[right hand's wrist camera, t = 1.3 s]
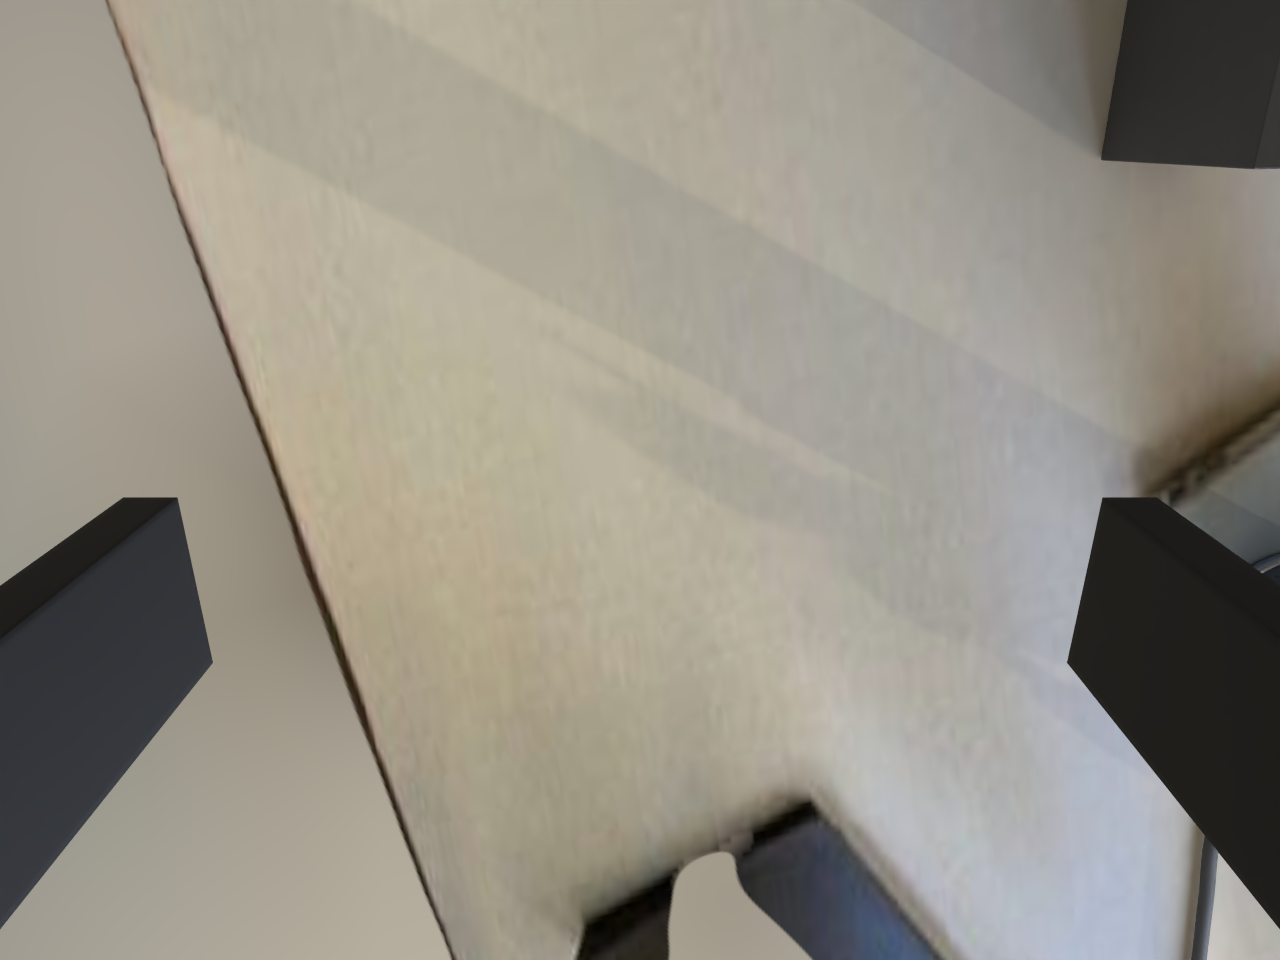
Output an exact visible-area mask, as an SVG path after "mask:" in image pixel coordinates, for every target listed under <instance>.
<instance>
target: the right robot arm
mask: <svg viewBox="0 0 1280 960" xmlns="http://www.w3.org/2000/svg"><path fill="white" fill-rule="evenodd" d="M212 663H213V661H212V657H211V652H210V647H209V643H208V638H207V633H206V629H205V624H204V619H203V615H202V610H201V605H200V601H199V596H198V591H197V587H196V582H195V577H194V573H193V568H192V564H191V559H190V554H189V549H188V545H187V540H186V536H185V531H184V526H183V521H182V517H181V512H180V508H179V503H178V498H122V499H121V500H119V501H118V502H116V503H115V504H114V505H112V506H111V507H110V508H108V509H107V510H105V511H104V512H103V513H101V514H100V515H98V516H97V517H96V518H94V519H93V520H91V521H90V522H89V523H87V524H86V525H84V526H83V527H82V528H80V529H79V530H77V531H76V532H75V533H73V534H72V535H70V536H69V537H68V538H66V539H65V540H64V541H62V542H61V543H59V544H58V545H57V546H55V547H54V548H52V549H51V550H50V551H48V552H47V553H45V554H44V555H43V556H41V557H40V558H38V559H37V560H36V561H34V562H33V563H31V564H30V565H29V566H27V567H26V568H24V569H23V570H22V571H20V572H19V573H17V574H16V575H15V576H13V577H12V578H10V579H9V580H8V581H6V582H5V583H4V584H2V585H1V586H0V929H1V927H2V926H3V925H4V924H5V922H6V921H7V920H8V919H9V917H10V916H11V915H12V914H13V912H14V911H15V910H16V909H17V907H18V906H19V905H20V904H21V902H22V901H23V900H24V899H25V897H26V896H27V895H28V894H29V892H30V891H31V890H32V889H33V887H34V886H35V885H36V884H37V882H38V881H39V880H40V879H41V877H42V876H43V875H44V874H45V872H46V871H47V870H48V868H49V867H50V866H51V865H52V864H53V862H54V861H55V860H56V859H57V857H58V856H59V855H60V853H61V852H62V851H63V850H64V849H65V847H66V846H67V845H68V843H69V842H70V841H71V840H72V838H73V837H74V836H75V835H76V834H77V832H78V831H79V830H80V828H81V827H82V826H83V825H84V823H85V822H86V821H87V820H88V818H89V817H90V816H91V815H92V813H93V812H94V811H95V810H96V808H97V807H98V806H99V805H100V803H101V802H102V801H103V800H104V798H105V797H106V796H107V795H108V793H109V792H110V791H111V790H112V788H113V787H114V786H115V785H116V783H117V782H118V781H119V780H120V778H121V777H122V776H123V775H124V773H125V772H126V771H127V770H128V768H129V767H130V766H131V765H132V763H133V762H134V761H135V760H136V758H137V757H138V756H139V754H140V753H141V752H142V751H143V750H144V748H145V747H146V746H147V745H148V743H149V742H150V741H151V740H152V738H153V737H154V736H155V734H156V733H157V732H158V731H159V729H160V728H161V727H162V726H163V724H164V723H165V722H166V721H167V719H168V718H169V717H170V716H171V714H172V713H173V712H174V711H175V709H176V708H177V707H178V706H179V704H180V703H181V702H182V701H183V699H184V698H185V697H186V696H187V694H188V693H189V692H190V691H191V689H192V688H193V687H194V686H195V684H196V683H197V682H198V681H199V679H200V678H201V677H202V676H203V674H204V673H205V672H206V671H207V669H208V668H209V667H210V665H211V664H212ZM1067 663H1068V664H1069V666H1070V667H1071V668H1072V669H1073V671H1074V672H1075V673H1076V674H1077V676H1078V677H1079V678H1080V679H1081V681H1082V682H1083V683H1084V684H1085V686H1086V687H1087V688H1088V689H1089V691H1090V692H1091V693H1092V694H1093V696H1094V697H1095V698H1096V699H1097V701H1098V702H1099V703H1100V704H1101V706H1102V707H1103V708H1104V709H1105V711H1106V712H1107V713H1108V714H1109V716H1110V717H1111V718H1112V719H1113V721H1114V722H1115V723H1116V724H1117V726H1118V727H1119V728H1120V729H1121V731H1122V732H1123V733H1124V735H1125V736H1126V737H1127V738H1128V740H1129V741H1130V742H1131V743H1132V745H1133V746H1134V747H1135V748H1136V750H1137V751H1138V752H1139V753H1140V755H1141V756H1142V757H1143V758H1144V760H1145V761H1146V762H1147V763H1148V765H1149V766H1150V767H1151V768H1152V770H1153V771H1154V772H1155V773H1156V775H1157V776H1158V777H1159V778H1160V780H1161V781H1162V782H1163V783H1164V785H1165V786H1166V787H1167V788H1168V790H1169V791H1170V792H1171V793H1172V795H1173V796H1174V797H1175V798H1176V800H1177V801H1178V802H1179V803H1180V805H1181V806H1182V807H1183V808H1184V810H1185V811H1186V812H1187V813H1188V815H1189V816H1190V817H1191V818H1192V820H1193V821H1194V822H1195V823H1196V825H1197V826H1198V827H1199V828H1200V830H1201V831H1202V832H1203V834H1204V835H1205V836H1206V837H1207V839H1208V840H1209V841H1210V842H1211V844H1212V845H1213V846H1214V847H1215V849H1216V850H1217V851H1218V852H1219V854H1220V855H1221V856H1222V857H1223V859H1224V860H1225V861H1226V862H1227V864H1228V865H1229V866H1230V867H1231V869H1232V870H1233V871H1234V872H1235V874H1236V875H1237V876H1238V877H1239V879H1240V880H1241V881H1242V882H1243V884H1244V885H1245V886H1246V887H1247V889H1248V890H1249V891H1250V892H1251V894H1252V895H1253V896H1254V897H1255V899H1256V900H1257V901H1258V902H1259V904H1260V905H1261V906H1262V907H1263V909H1264V910H1265V911H1266V912H1267V914H1268V915H1269V916H1270V917H1271V919H1272V920H1273V921H1274V922H1275V924H1276V925H1277V926H1278V927H1279V929H1280V586H1279V585H1278V584H1277V583H1275V582H1274V581H1272V580H1271V579H1270V578H1268V577H1267V576H1265V575H1264V574H1263V573H1261V572H1260V571H1258V570H1257V569H1256V568H1254V567H1253V566H1251V565H1250V564H1249V563H1247V562H1246V561H1244V560H1243V559H1242V558H1240V557H1239V556H1237V555H1236V554H1235V553H1233V552H1232V551H1230V550H1229V549H1228V548H1226V547H1225V546H1224V545H1222V544H1221V543H1219V542H1218V541H1217V540H1215V539H1214V538H1212V537H1211V536H1210V535H1208V534H1207V533H1205V532H1204V531H1203V530H1201V529H1200V528H1198V527H1197V526H1196V525H1194V524H1193V523H1191V522H1190V521H1189V520H1187V519H1186V518H1184V517H1183V516H1182V515H1180V514H1179V513H1177V512H1176V511H1175V510H1173V509H1172V508H1170V507H1169V506H1168V505H1166V504H1165V503H1164V502H1162V501H1161V500H1159V499H1158V498H1102V503H1101V508H1100V512H1099V517H1098V521H1097V526H1096V531H1095V535H1094V540H1093V545H1092V549H1091V554H1090V559H1089V563H1088V568H1087V573H1086V577H1085V582H1084V587H1083V591H1082V596H1081V601H1080V605H1079V610H1078V615H1077V619H1076V624H1075V629H1074V633H1073V638H1072V643H1071V647H1070V652H1069V657H1068V661H1067Z"/></svg>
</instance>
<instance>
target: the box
mask: <svg viewBox="0 0 1280 960" xmlns="http://www.w3.org/2000/svg"><path fill="white" fill-rule="evenodd" d="M1101 160H1108V161H1125V162H1142V163H1159V164H1176V165H1193V166H1210V167H1227V168H1244V169H1280V0H1128V4H1127V10H1126V16H1125V22H1124V28H1123V33H1122V39H1121V45H1120V51H1119V57H1118V63H1117V69H1116V75H1115V81H1114V87H1113V93H1112V99H1111V105H1110V111H1109V117H1108V123H1107V128H1106V134H1105V140H1104V146H1103V152H1102V158H1101Z"/></svg>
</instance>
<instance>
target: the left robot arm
mask: <svg viewBox="0 0 1280 960" xmlns="http://www.w3.org/2000/svg"><path fill="white" fill-rule="evenodd" d="M1253 567H1254V568H1256V569H1257V570H1258V571H1260V572H1261V573H1263V574H1264V575H1265V576H1267V577H1268V578H1270V579H1271V580H1272V581H1274V582H1275V583H1277V584H1278V585H1279V586H1280V554H1278V555H1275V556H1272V557H1269V558H1267V559H1264V560H1262V561H1260V562H1258V563H1256V564H1255V565H1253ZM1217 858H1218V851H1217V850H1216V849H1215V847H1214V846H1213V845H1212V844H1211V842H1210V841H1209V840H1208V839H1207V837H1206V836H1205V838H1204V844H1203V851H1202V860H1201V874H1200V887H1199V897H1198V906H1197V914H1196V923H1195V933H1194V942H1193V951H1192V959H1191V960H1207V952H1208V943H1209V935H1210V926H1211V918H1212V910H1213V902H1214V893H1215V881H1216V868H1217Z"/></svg>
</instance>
